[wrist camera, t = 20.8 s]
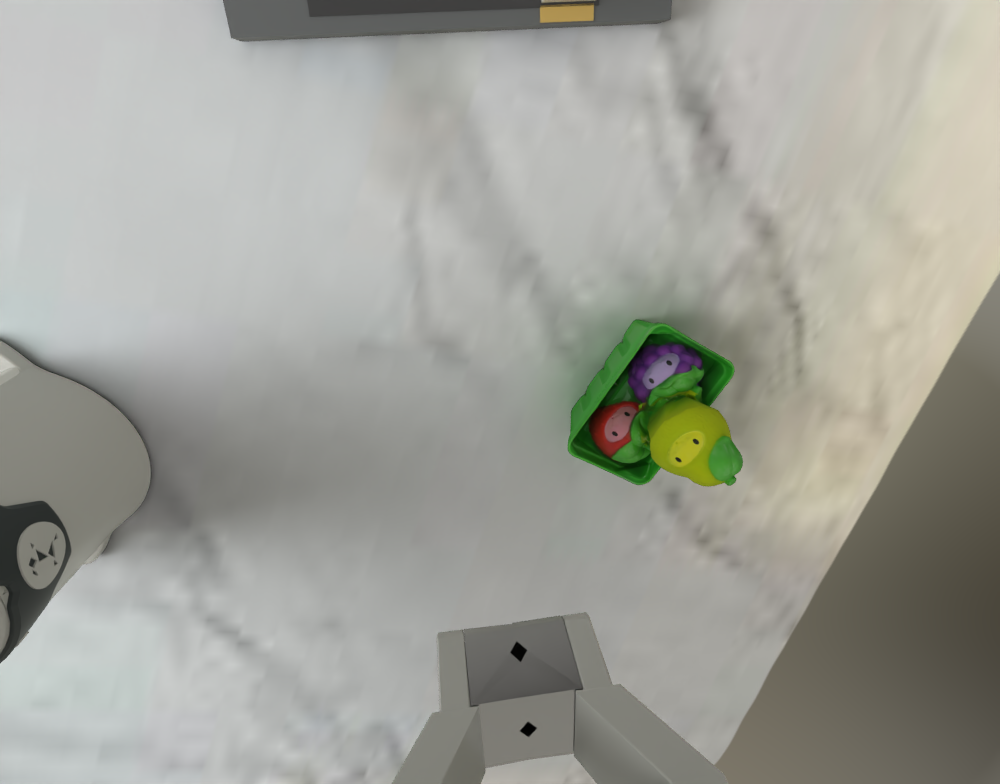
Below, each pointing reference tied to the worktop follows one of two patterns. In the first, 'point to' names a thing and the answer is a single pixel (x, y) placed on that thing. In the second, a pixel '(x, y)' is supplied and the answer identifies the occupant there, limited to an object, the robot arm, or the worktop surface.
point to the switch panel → (426, 16)
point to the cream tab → (562, 0)
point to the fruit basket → (657, 410)
